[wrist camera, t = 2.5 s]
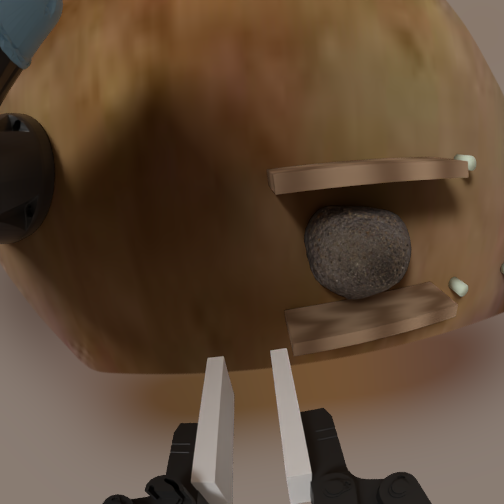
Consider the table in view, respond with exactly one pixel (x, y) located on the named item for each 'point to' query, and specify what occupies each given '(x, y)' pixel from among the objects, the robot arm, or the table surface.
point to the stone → (357, 249)
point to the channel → (381, 304)
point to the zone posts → (455, 282)
